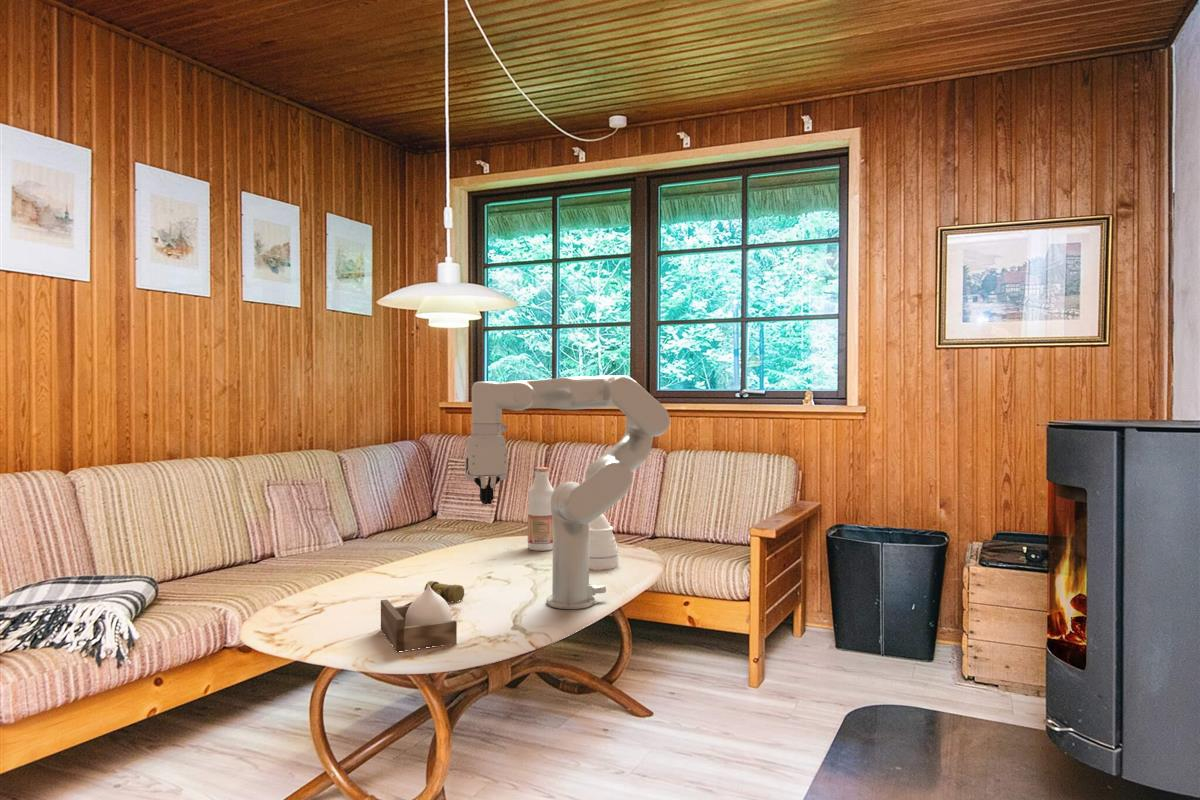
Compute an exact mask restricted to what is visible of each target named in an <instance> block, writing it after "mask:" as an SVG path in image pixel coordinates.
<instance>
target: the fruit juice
mask: <svg viewBox="0 0 1200 800" xmlns="http://www.w3.org/2000/svg"><path fill="white" fill-rule="evenodd" d="M533 470H534V474H535V475H534V479H533V482H532V484H531V486H530V487H529V489H528V492H527V493H528V500H529V504H528V506H527V548H528V550H531V551H536V552H544V551H551V550H552V551H553V524H552V514H551V497H552V494H553V492H554V490H555V489H554V487H553V486H552V484H551V483H550V478H549V475H548V474H549V467H546V466H543V467H542V466H537V467H534V469H533Z"/></svg>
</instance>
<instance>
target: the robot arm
mask: <svg viewBox="0 0 1200 800" xmlns="http://www.w3.org/2000/svg"><path fill="white" fill-rule="evenodd" d="M605 408H607V409H609V408H611V409H613V408H616V409H618V410H620V411H621V412H622V414H624V415H625V428H624V429H625V430H624V434H623V436H622V438H620V440H619V441H618V442H617V443H616V444H614V446H612V447H611V448H610V449H609V450H607V451H606V452H604V453H603V454H602V455H601V456H600V457H598V458H597V459H595V460H594V461H593V462H591V463H590V464H589V466H588V467H587V468H586V471H585V475H584V478H585V480H584V481H583V482H582V483H579V482H575V481H565V482H561V483H560V484H559V485H557V487H555V489H554V492H553V494H552V497H551V514H552V524H553V549H552V594H550V595H548V596H547V597H546V601H545V602H546V605H548V606H550V607H552V608H555V609H560V610H561V609H562V610H579V609H585V608H590V607H591V606H593V605H595V603H596V602H595V600H596V599H595V597H594V596H595V595H596V594H605V593H606V592H607V588H606V586H605V585H598V586H597V584H594V585H592V584H590V569H589V524H588V523H589V522H591V521H593V520H595V519H596V518H597V517H599V516H600V515H601V514H603V515H604V513H605V512H607V510H609V509H611V507H613V506H614V505H615V504H616V503H618V502H619V501H620V500H621V499H622V498H624V497H625V496H626V494H628V493H629V491H630V489H631V486H632V484H633V474H632V473H633V472H634V471H636V470H637V469H638V468H639V467H640V466H641V465H642V464H643V463H644V462H646V460H647V458H648V457H649V455H650V453H651V450H652V446H653V442H654V441H653V440H654V437H660V436H662V435H664V434H666V432H667V431H668V429H669V427H670V424H671V417H670V413H669V412H668V410H667V409H666V407H664V405H663V404H661V402H660V401H659V400H657V399H656V398H655V397H654V396H653V395H652V394H650V393H649V392H648V391H647V390H646V389H645V388H644V386H642V385H640V384H639V383H638V382H637V381H636V380H635V379H633V378H632V377H630V376H628V375H623V374H621V375H615V374H614V375H612V374H611V375H589V376H564V377H563V376H562V377H557V378H549V379H533V380H532V379H530V380H528V379H527V380H525V379H524V380H508V381H505V382H499V381H487V380H486V381H484V380H483V381H476V382H474V383H472V386H471V435H469V436H468V437H467V440H466V441H467V442H466V446H465V447H466V448H465V456H464V473H465V478H464V479H465V480H466V481H467V482H471V483H475V484H476V485H477V486H478V488H479V501H481V504H483V505H484V506H485V505H492V503H493V502H492V501H494V488H496V486H497V484H498V483H499V482H500V481H504V480H506V479H508V465H509V464H508V449H507V444H506V438H505V436H504V435H503V433H504V432H507V431H508V426H507V425H503V410H510V411H519V412H520V411H524V410H526V409H527V410H528V409H557V410H566V411H567V410H586V409H587V410H588V409H605ZM486 477H487V482H486Z"/></svg>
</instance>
